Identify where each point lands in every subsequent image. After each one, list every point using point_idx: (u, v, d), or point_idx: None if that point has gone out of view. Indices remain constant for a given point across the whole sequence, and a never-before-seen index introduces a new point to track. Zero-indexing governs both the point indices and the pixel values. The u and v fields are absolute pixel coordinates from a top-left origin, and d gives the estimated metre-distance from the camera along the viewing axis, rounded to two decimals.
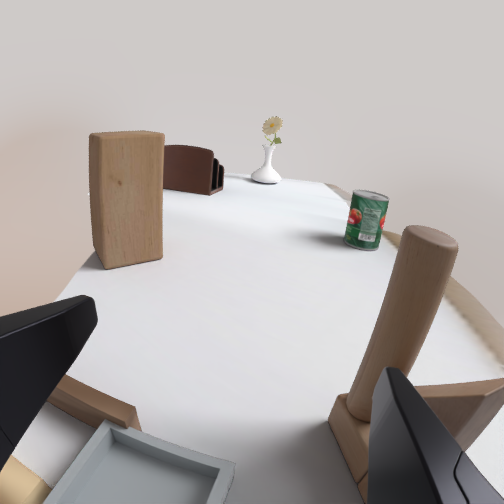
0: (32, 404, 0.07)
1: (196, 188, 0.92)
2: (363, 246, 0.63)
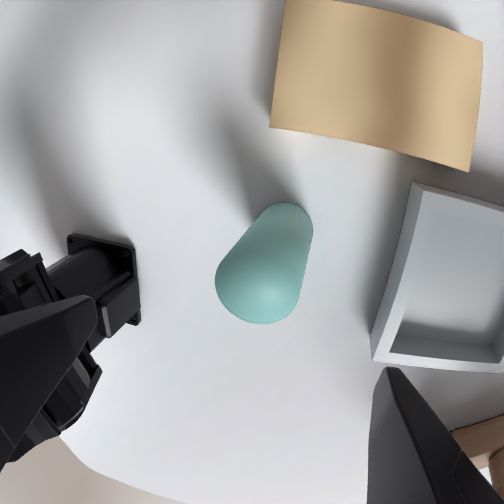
0: (32, 404, 0.07)
1: None
2: None
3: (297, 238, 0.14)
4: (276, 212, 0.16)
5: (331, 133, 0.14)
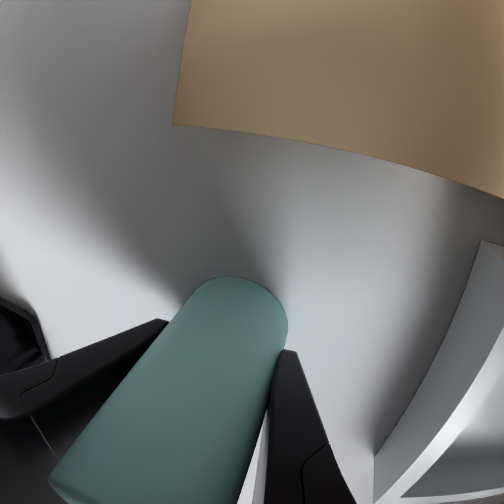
0: None
1: None
2: None
3: (230, 411, 0.05)
4: (202, 318, 0.07)
5: (321, 135, 0.05)
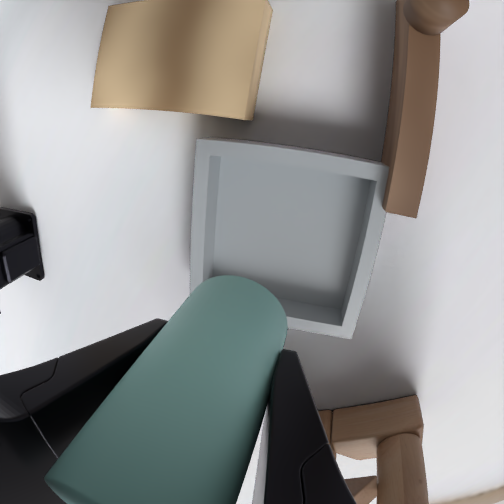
0: None
1: None
2: None
3: (229, 411, 0.05)
4: (201, 317, 0.07)
5: (126, 105, 0.16)
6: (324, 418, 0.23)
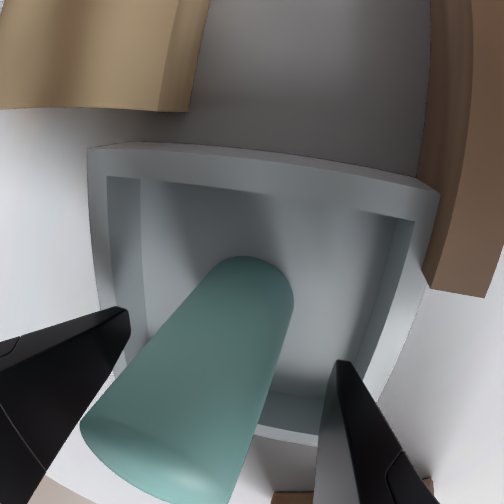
0: (65, 425, 0.07)
1: None
2: None
3: (245, 361, 0.06)
4: (220, 287, 0.08)
5: (15, 104, 0.09)
6: None
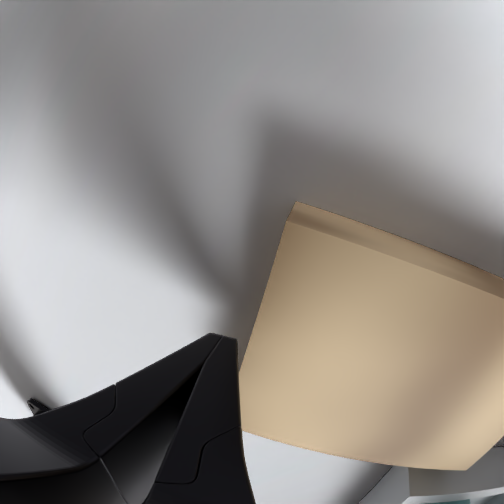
0: None
1: None
2: None
3: None
4: None
5: (307, 446, 0.09)
6: None
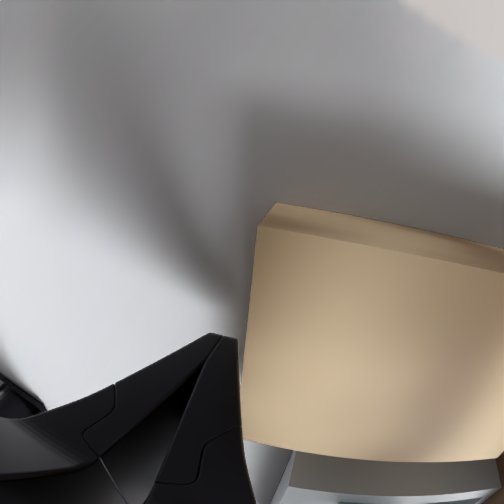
0: None
1: None
2: None
3: None
4: None
5: (325, 452, 0.08)
6: None
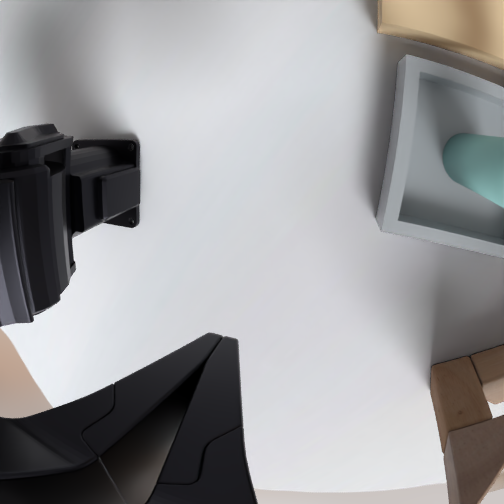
0: None
1: None
2: None
3: None
4: None
5: (431, 31, 0.12)
6: (466, 364, 0.20)
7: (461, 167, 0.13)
